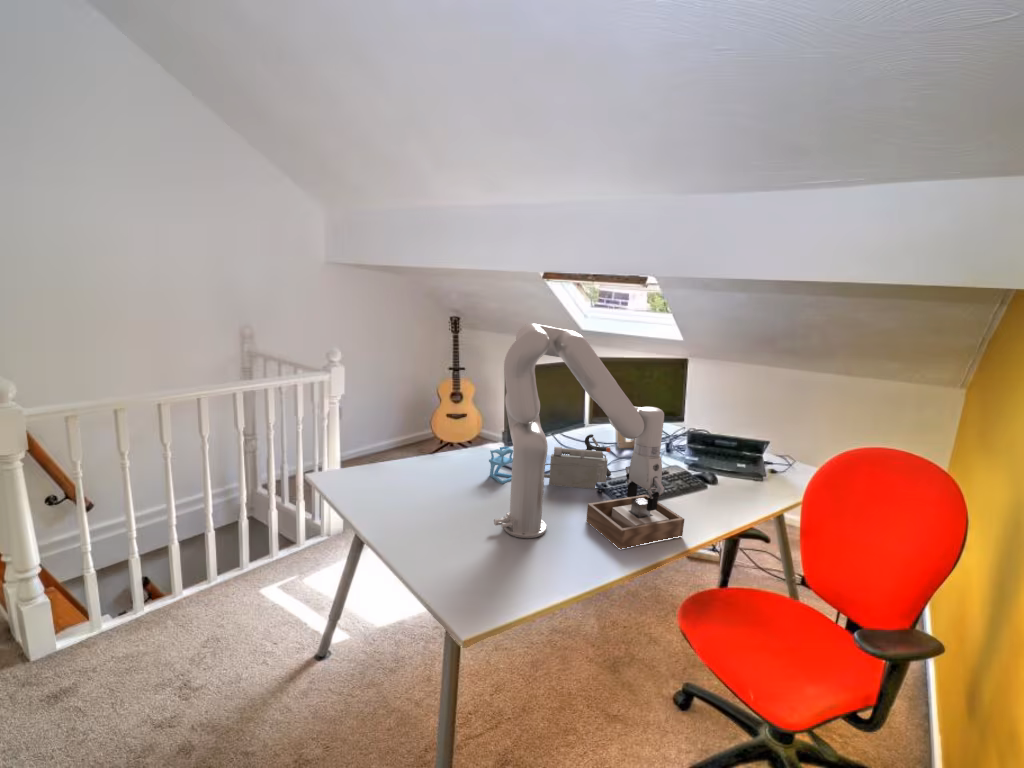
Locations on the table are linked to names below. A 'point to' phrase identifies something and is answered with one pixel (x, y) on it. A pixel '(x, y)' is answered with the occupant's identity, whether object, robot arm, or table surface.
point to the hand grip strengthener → (590, 447)
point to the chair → (500, 463)
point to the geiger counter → (577, 468)
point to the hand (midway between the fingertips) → (641, 503)
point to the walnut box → (633, 522)
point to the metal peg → (639, 508)
